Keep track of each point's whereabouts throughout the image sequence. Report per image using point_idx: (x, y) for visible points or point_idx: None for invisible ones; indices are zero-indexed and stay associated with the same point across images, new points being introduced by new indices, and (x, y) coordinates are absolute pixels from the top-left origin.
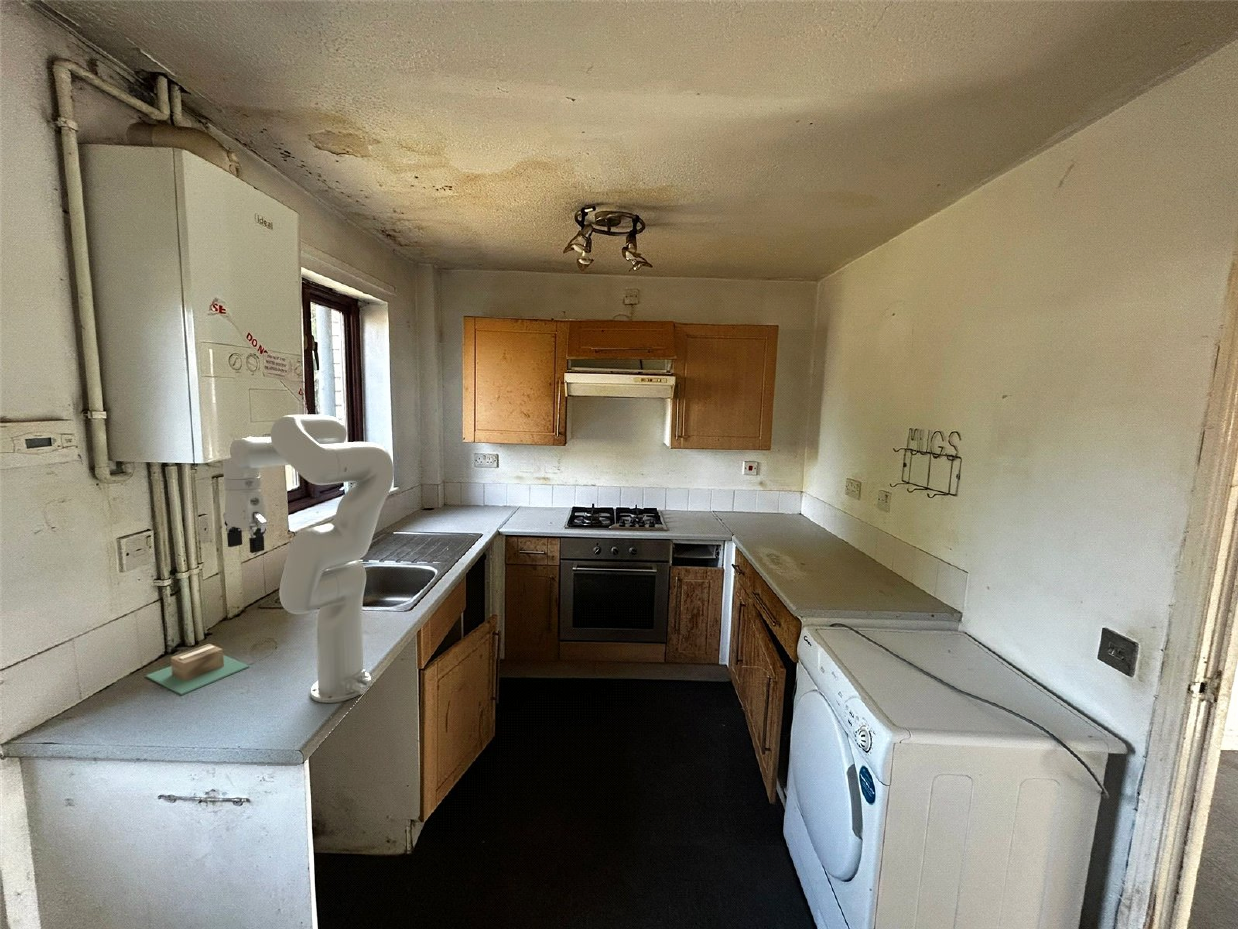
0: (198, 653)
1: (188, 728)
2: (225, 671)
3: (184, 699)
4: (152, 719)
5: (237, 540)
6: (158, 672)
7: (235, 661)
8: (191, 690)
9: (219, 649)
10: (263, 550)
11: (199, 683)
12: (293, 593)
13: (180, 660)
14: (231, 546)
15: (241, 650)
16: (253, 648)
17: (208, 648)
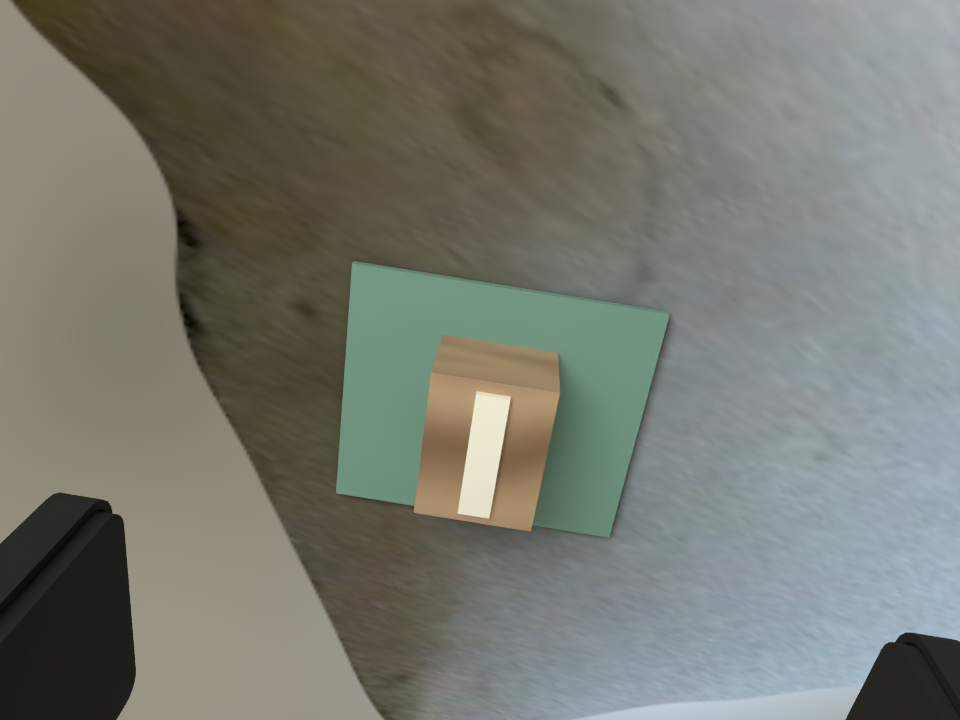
0: (499, 463)
1: (819, 635)
2: (612, 383)
3: (638, 540)
4: (654, 632)
5: (63, 669)
6: (354, 466)
7: (568, 306)
8: (615, 509)
9: (547, 400)
10: (942, 641)
11: (601, 475)
12: None
13: (485, 519)
14: (135, 674)
15: (460, 192)
16: (498, 152)
17: (496, 420)
